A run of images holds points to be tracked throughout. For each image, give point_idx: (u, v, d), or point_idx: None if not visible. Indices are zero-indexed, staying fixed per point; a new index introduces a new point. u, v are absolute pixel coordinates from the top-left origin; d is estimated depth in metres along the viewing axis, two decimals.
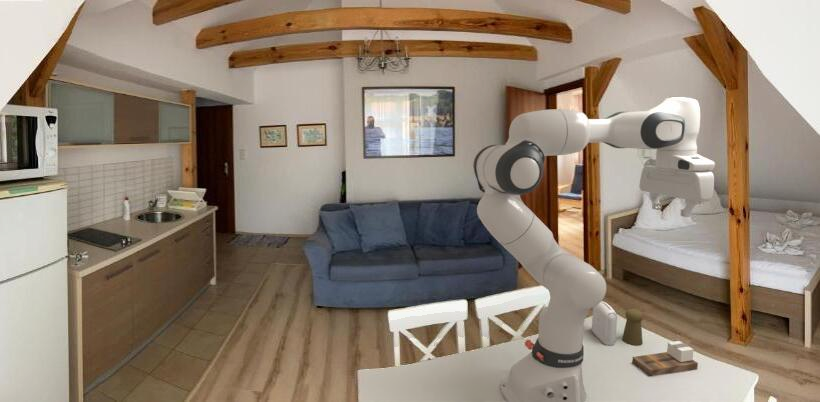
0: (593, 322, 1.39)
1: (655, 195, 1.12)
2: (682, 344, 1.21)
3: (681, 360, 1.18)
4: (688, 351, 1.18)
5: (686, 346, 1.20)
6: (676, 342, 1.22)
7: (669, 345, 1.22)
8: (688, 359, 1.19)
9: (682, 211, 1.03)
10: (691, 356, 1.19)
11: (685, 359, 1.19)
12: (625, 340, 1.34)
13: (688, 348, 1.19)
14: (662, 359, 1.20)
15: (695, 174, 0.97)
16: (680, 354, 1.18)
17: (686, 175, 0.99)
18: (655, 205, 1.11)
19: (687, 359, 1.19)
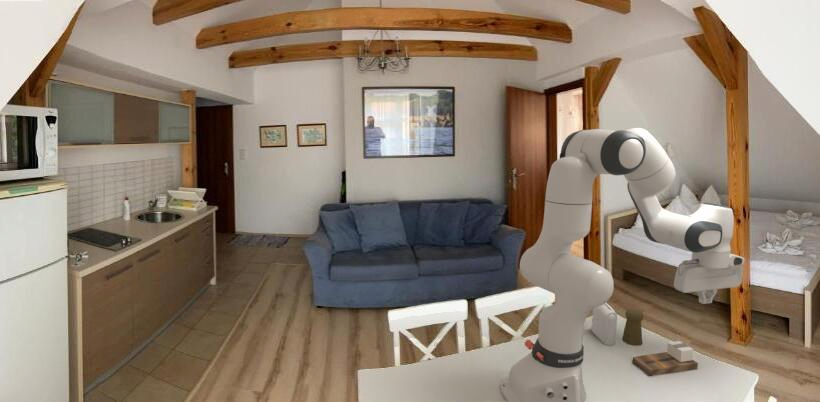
0: (593, 322, 1.39)
1: None
2: (682, 344, 1.21)
3: (681, 360, 1.18)
4: (688, 351, 1.18)
5: (686, 346, 1.20)
6: (676, 342, 1.22)
7: (669, 345, 1.22)
8: (688, 359, 1.19)
9: (709, 299, 1.19)
10: (691, 356, 1.19)
11: (685, 359, 1.19)
12: (625, 340, 1.34)
13: (688, 348, 1.19)
14: (662, 359, 1.20)
15: (742, 266, 1.17)
16: (680, 354, 1.18)
17: (735, 268, 1.16)
18: (707, 300, 1.18)
19: (687, 359, 1.19)
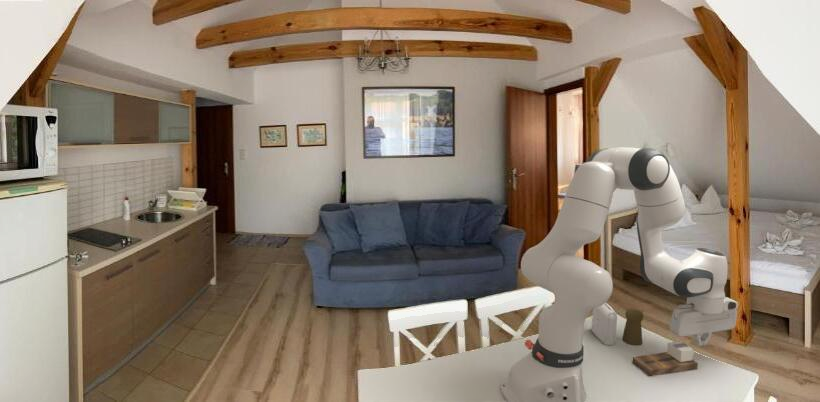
0: (593, 322, 1.39)
1: None
2: (682, 344, 1.21)
3: (681, 360, 1.18)
4: (688, 351, 1.18)
5: (686, 346, 1.20)
6: (676, 342, 1.22)
7: (669, 345, 1.22)
8: (688, 359, 1.19)
9: (705, 341, 1.21)
10: (691, 356, 1.19)
11: (685, 359, 1.19)
12: (625, 340, 1.34)
13: (688, 348, 1.19)
14: (662, 359, 1.20)
15: (736, 310, 1.19)
16: (680, 354, 1.18)
17: (729, 312, 1.19)
18: (702, 342, 1.21)
19: (687, 359, 1.19)
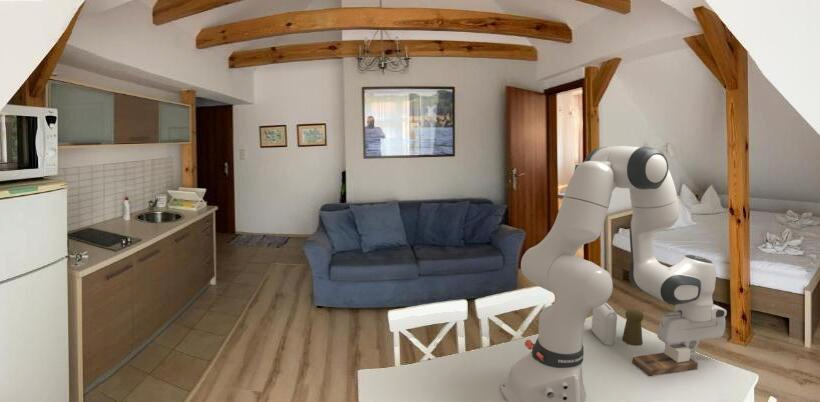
0: (593, 322, 1.39)
1: None
2: (679, 344, 1.21)
3: (678, 360, 1.18)
4: (685, 351, 1.18)
5: (683, 346, 1.20)
6: None
7: (666, 345, 1.22)
8: (685, 359, 1.19)
9: (692, 349, 1.20)
10: (688, 356, 1.19)
11: (682, 359, 1.18)
12: (625, 340, 1.34)
13: (685, 348, 1.19)
14: (662, 359, 1.20)
15: (724, 318, 1.19)
16: (677, 354, 1.18)
17: (717, 320, 1.18)
18: None
19: (684, 359, 1.19)
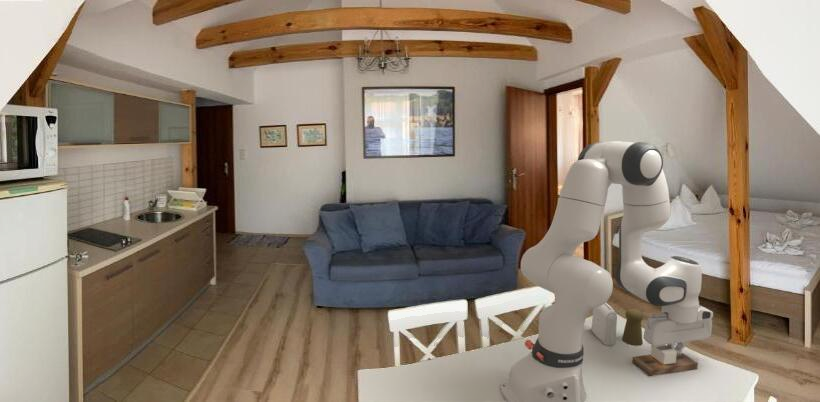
0: (593, 322, 1.39)
1: None
2: (666, 346, 1.20)
3: (664, 362, 1.17)
4: (671, 353, 1.17)
5: (669, 348, 1.19)
6: None
7: (653, 347, 1.21)
8: (671, 361, 1.18)
9: (679, 351, 1.20)
10: (674, 358, 1.18)
11: (668, 361, 1.18)
12: (625, 340, 1.34)
13: (671, 350, 1.18)
14: None
15: None
16: (663, 356, 1.17)
17: (703, 321, 1.17)
18: (677, 352, 1.20)
19: (670, 361, 1.18)
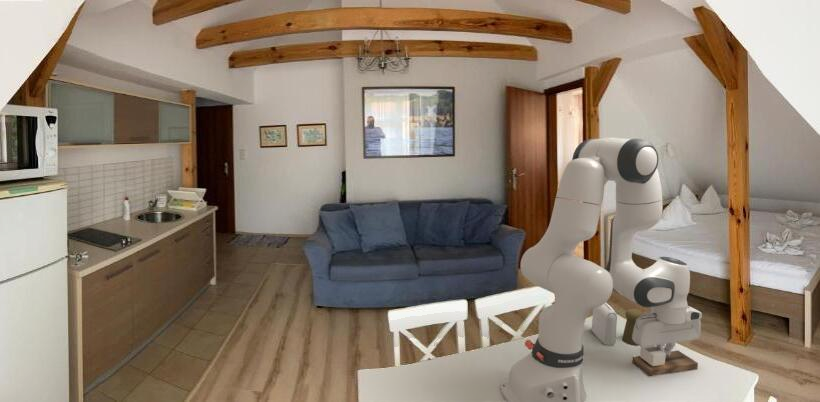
0: (593, 322, 1.39)
1: None
2: (655, 348, 1.19)
3: (653, 364, 1.17)
4: (660, 355, 1.17)
5: (659, 350, 1.18)
6: (649, 346, 1.21)
7: (642, 349, 1.20)
8: (660, 363, 1.17)
9: (668, 352, 1.19)
10: (663, 360, 1.17)
11: (657, 363, 1.17)
12: (625, 340, 1.34)
13: (660, 352, 1.17)
14: None
15: None
16: (652, 358, 1.17)
17: (692, 322, 1.17)
18: None
19: (659, 363, 1.17)
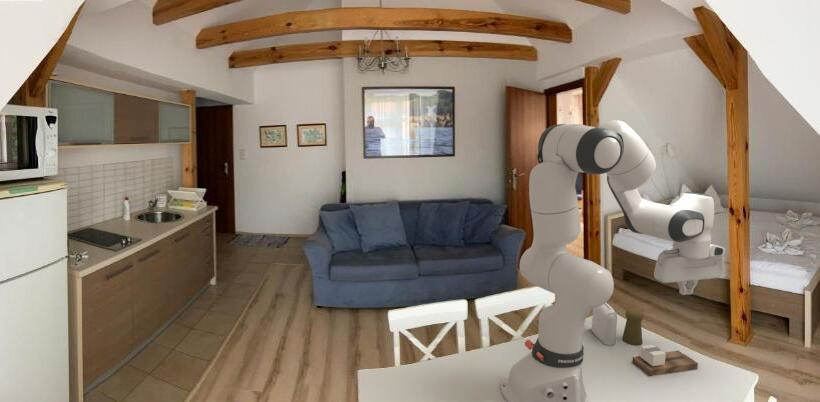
0: (593, 322, 1.39)
1: None
2: (655, 348, 1.19)
3: (653, 364, 1.17)
4: (660, 355, 1.17)
5: (659, 350, 1.18)
6: (649, 346, 1.21)
7: (642, 349, 1.20)
8: (660, 363, 1.17)
9: (690, 290, 1.17)
10: (663, 360, 1.17)
11: (657, 363, 1.17)
12: (625, 340, 1.34)
13: (660, 352, 1.17)
14: None
15: (723, 257, 1.15)
16: (652, 358, 1.17)
17: (716, 258, 1.14)
18: (687, 291, 1.16)
19: (659, 363, 1.17)
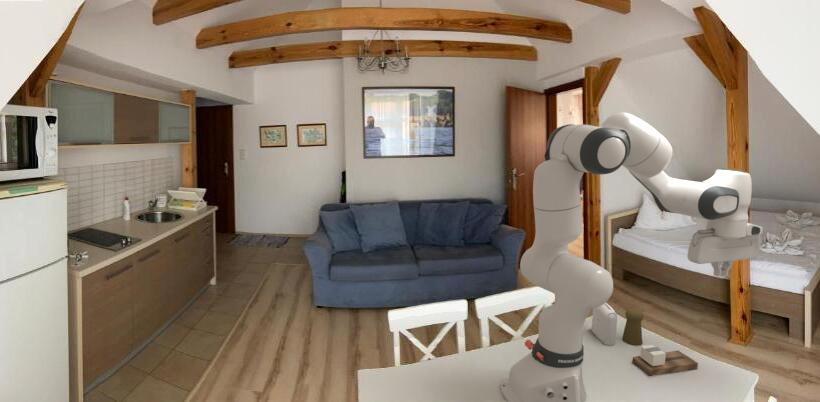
0: (593, 322, 1.39)
1: None
2: (655, 348, 1.19)
3: (653, 364, 1.17)
4: (660, 355, 1.17)
5: (659, 350, 1.18)
6: (649, 346, 1.21)
7: (642, 349, 1.20)
8: (660, 363, 1.17)
9: (725, 271, 1.12)
10: (663, 360, 1.17)
11: (657, 363, 1.17)
12: (625, 340, 1.34)
13: (660, 352, 1.17)
14: None
15: None
16: (652, 358, 1.17)
17: (752, 238, 1.10)
18: (722, 272, 1.12)
19: (659, 363, 1.17)
